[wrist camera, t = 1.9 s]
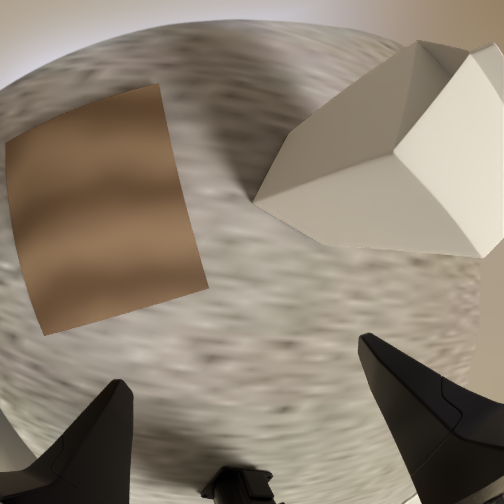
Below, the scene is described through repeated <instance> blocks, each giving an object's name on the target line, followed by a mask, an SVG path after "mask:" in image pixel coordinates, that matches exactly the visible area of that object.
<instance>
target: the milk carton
mask: <svg viewBox="0 0 504 504" xmlns="http://www.w3.org/2000/svg"><path fill="white" fill-rule="evenodd" d="M253 204H254V205H255V206H257V207H259V208H260V209H262V210H264V211H266V212H267V213H269V214H271V215H273V216H274V217H276V218H278V219H280V220H281V221H283V222H285V223H286V224H288V225H290V226H292V227H293V228H295V229H297V230H298V231H300V232H302V233H303V234H305V235H307V236H308V237H310V238H312V239H313V240H315V241H317V242H318V243H320V244H323V245H334V246H348V247H361V248H374V249H386V250H399V251H411V252H422V253H434V254H445V255H456V256H467V257H478V258H484V257H485V256H486V255H487V254H488V253H489V252H490V251H491V250H492V249H493V248H494V247H495V246H496V245H497V244H498V243H499V242H500V241H501V240H502V239H503V238H504V56H503V54H502V53H501V51H500V50H499V48H498V47H497V45H496V44H495V43H494V42H491V43H489V44H486V45H484V46H482V47H479V48H477V49H474V50H472V51H467V50H463V49H460V48H456V47H451V46H447V45H442V44H437V43H432V42H427V41H421V40H417V41H416V42H415V43H413V44H411V45H410V46H408V47H406V48H405V49H403V50H401V51H400V52H398V53H397V54H395V55H394V56H392V57H391V58H389V59H388V60H386V61H385V62H383V63H382V64H380V65H379V66H377V67H376V68H374V69H373V70H371V71H370V72H368V73H367V74H366V75H364V76H363V77H361V78H360V79H359V80H357V81H356V82H354V83H353V84H352V85H350V86H349V87H347V88H346V89H345V90H343V91H342V92H341V93H339V94H338V95H337V96H335V97H334V98H333V99H331V100H330V101H329V102H327V103H326V104H325V105H323V106H322V107H321V108H320V109H318V110H317V111H316V112H314V113H313V114H312V115H311V116H309V117H308V118H307V119H306V120H304V121H303V122H302V123H301V124H299V125H298V126H297V127H296V128H294V129H293V130H292V131H291V132H290V133H289V134H288V136H287V138H286V139H285V141H284V143H283V145H282V147H281V149H280V151H279V153H278V154H277V156H276V158H275V160H274V162H273V164H272V166H271V168H270V170H269V171H268V173H267V175H266V177H265V179H264V181H263V183H262V185H261V187H260V189H259V191H258V193H257V195H256V196H255V198H254V200H253Z"/></svg>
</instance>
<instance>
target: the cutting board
mask: <svg viewBox="0 0 504 504" xmlns="http://www.w3.org/2000/svg"><path fill="white" fill-rule="evenodd" d="M6 178H7V190H8V200H9V208H10V215H11V222H12V228H13V233H14V239H15V244H16V248H17V253H18V257H19V261H20V265H21V269H22V273H23V276H24V280H25V283H26V287H27V290H28V293H29V296H30V299H31V302H32V305H33V308H34V311H35V314H36V316H37V319H38V322H39V324H40V327H41V329H42V332H43V334H44V336H46V335H50V334H53V333H57V332H61V331H65V330H68V329H72V328H75V327H79V326H83V325H86V324H90V323H93V322H97V321H101V320H104V319H108V318H111V317H115V316H118V315H121V314H125V313H128V312H132V311H135V310H139V309H142V308H145V307H149V306H152V305H155V304H159V303H162V302H165V301H169V300H172V299H175V298H179V297H182V296H185V295H188V294H192V293H195V292H198V291H201V290H205V289H208V288H209V286H208V283H207V280H206V276H205V273H204V270H203V266H202V263H201V259H200V256H199V252H198V249H197V245H196V242H195V238H194V235H193V231H192V227H191V223H190V220H189V216H188V212H187V208H186V205H185V201H184V197H183V193H182V189H181V185H180V181H179V177H178V172H177V168H176V164H175V160H174V155H173V151H172V146H171V142H170V137H169V133H168V128H167V123H166V119H165V114H164V109H163V104H162V98H161V93H160V88H159V84H154V85H150V86H146V87H142V88H138V89H134V90H131V91H127V92H124V93H120V94H117V95H114V96H111V97H108V98H104V99H101V100H99V101H96V102H93V103H90V104H87V105H85V106H82V107H79V108H77V109H74V110H72V111H69V112H67V113H65V114H62V115H60V116H58V117H55V118H53V119H51V120H49V121H47V122H44V123H42V124H40V125H38V126H36V127H34V128H32V129H30V130H28V131H26V132H25V133H23V134H21V135H19V136H17V137H15V138H14V139H12V140H10V141H8V142H7V143H6Z"/></svg>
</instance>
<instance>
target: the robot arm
mask: <svg viewBox="0 0 504 504" xmlns="http://www.w3.org/2000/svg"><path fill="white" fill-rule="evenodd" d="M358 355H359V358H360V361H361V364H362V367H363V369H364V372H365V375H366V378H367V381H368V384H369V386H370V389H371V392H372V394H373V396H374V398H375V400H376V402H377V404H378V406H379V408H380V410H381V412H382V414H383V417H384V419H385V421H386V423H387V425H388V427H389V429H390V431H391V434H392V436H393V438H394V440H395V442H396V444H397V447H398V449H399V451H400V453H401V456H402V458H403V460H404V462H405V465H406V467H407V469H408V472H409V474H410V475H411V479H412V481H413V484H414V486H415V488H416V491H417V493H418V496H419V498H420V501H421V503H422V504H504V404H502V403H498V402H495V401H492V400H490V399H488V398H485V397H483V396H481V395H478V394H476V393H474V392H471V391H469V390H467V389H465V388H463V387H461V386H459V385H457V384H455V383H454V382H452V381H450V380H448V379H447V378H445V377H443V376H442V377H441V375H440V374H438V373H436V372H435V371H433V370H431V369H430V368H428V367H427V366H425V365H423V364H422V363H420V362H418V361H417V360H415V359H413V358H412V357H410V356H408V355H407V354H405V353H403V352H402V351H400V350H398V349H397V348H395V347H393V346H392V345H390V344H388V343H387V342H385V341H383V340H382V339H380V338H379V337H377V336H375V335H374V334H372V333H366V334H363V335H360V336H359V342H358ZM132 438H133V393H132V391H131V389H130V388H129V387H128V386H127V384H126V383H125V382H124V381H123V380H122V379H114V380H112V381H111V382H110V383H109V384H108V385H107V386H106V387H105V388H104V389H103V391H102V392H101V393H100V394H99V395H98V396H97V397H96V398H95V399H94V400H93V401H92V402H91V403H90V405H89V406H88V407H87V408H86V409H85V410H84V411H83V412H82V413H81V414H80V415H79V416H78V418H77V419H76V420H75V421H74V422H73V423H72V424H71V425H70V426H69V427H68V428H67V430H66V431H65V432H64V433H63V435H61V436H60V437H59V438H58V439H57V440H56V441H55V443H54V444H53V445H52V446H51V447H50V448H49V449H48V450H47V451H45V452H44V453H43V454H42V455H41V456H40V457H39V458H38V459H37V460H36V461H35V462H34V463H32V464H31V465H30V466H29V467H27V468H26V469H24V470H20V471H11V472H0V504H129V490H130V465H131V450H132ZM272 477H273V475H272V473H268V472H259V471H251V470H244V469H238V468H232V467H223V468H221V470H220V471H219V472H218V473H217V474H216V476H215V477H214V478H213V479H212V481H211V482H210V483H209V484H208V485H207V486H206V488H205V489H204V490H203V491H202V492H201V497H202V498H207V499H213V500H214V503H215V504H276V503H275V501H274V499H273V498H274V495H273V493H272V491H271V489H270V487H269V485H268V482H269V481H270V480H271V479H272ZM279 504H285V503H284V502H282V503H279Z"/></svg>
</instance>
